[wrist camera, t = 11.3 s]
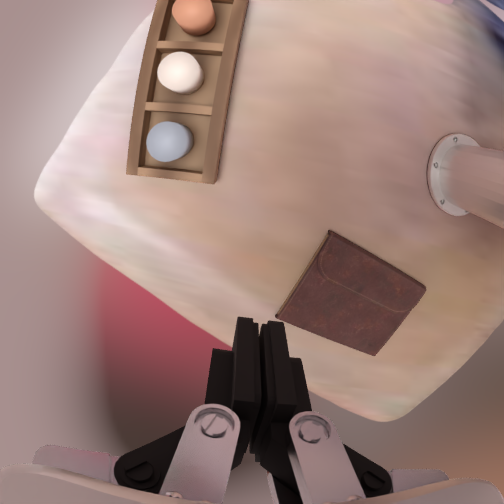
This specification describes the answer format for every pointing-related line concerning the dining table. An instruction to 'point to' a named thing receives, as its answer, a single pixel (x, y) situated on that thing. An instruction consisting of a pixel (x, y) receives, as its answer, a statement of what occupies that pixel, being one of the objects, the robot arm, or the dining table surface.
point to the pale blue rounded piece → (169, 141)
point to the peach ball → (194, 16)
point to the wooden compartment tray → (191, 105)
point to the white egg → (180, 73)
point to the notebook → (350, 296)
